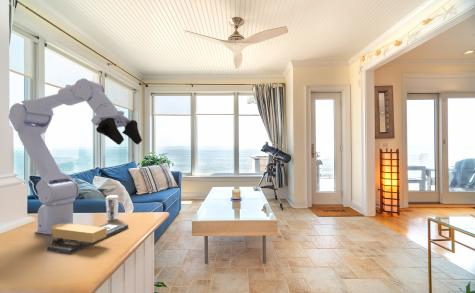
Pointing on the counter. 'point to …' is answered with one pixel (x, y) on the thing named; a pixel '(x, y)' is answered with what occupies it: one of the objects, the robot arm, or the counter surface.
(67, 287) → the counter surface
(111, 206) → the milkshake
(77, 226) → the light wooden plank
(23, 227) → the counter surface
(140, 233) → the counter surface
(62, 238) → the pivot plinth
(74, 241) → the panel
